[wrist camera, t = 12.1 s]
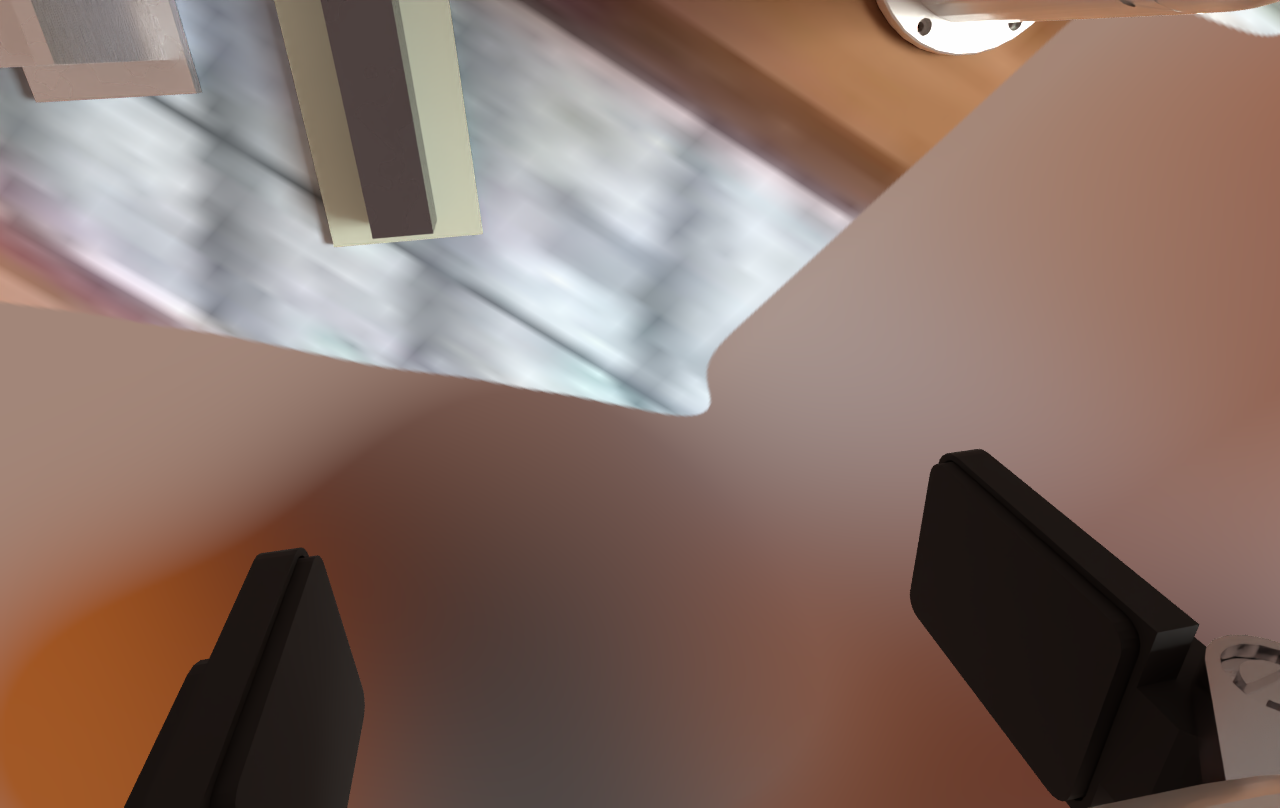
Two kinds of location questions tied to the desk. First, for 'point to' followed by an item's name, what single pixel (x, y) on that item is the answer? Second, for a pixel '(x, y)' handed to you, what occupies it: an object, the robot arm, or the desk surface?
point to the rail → (381, 115)
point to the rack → (97, 48)
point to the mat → (436, 107)
